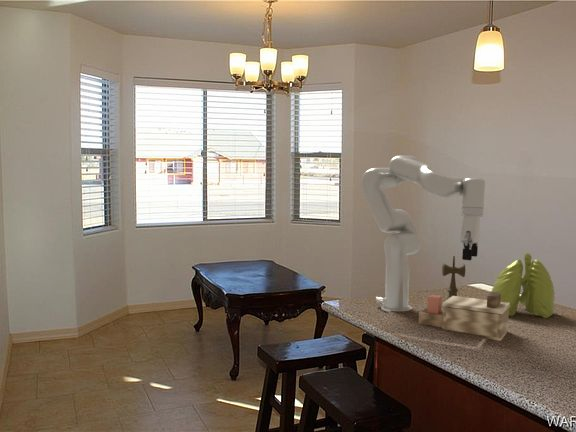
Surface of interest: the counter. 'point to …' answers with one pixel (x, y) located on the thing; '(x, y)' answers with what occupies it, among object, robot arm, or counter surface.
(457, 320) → the wooden box
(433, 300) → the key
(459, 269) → the kendama
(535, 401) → the counter surface
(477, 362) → the counter surface
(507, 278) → the lungs
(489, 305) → the lid
